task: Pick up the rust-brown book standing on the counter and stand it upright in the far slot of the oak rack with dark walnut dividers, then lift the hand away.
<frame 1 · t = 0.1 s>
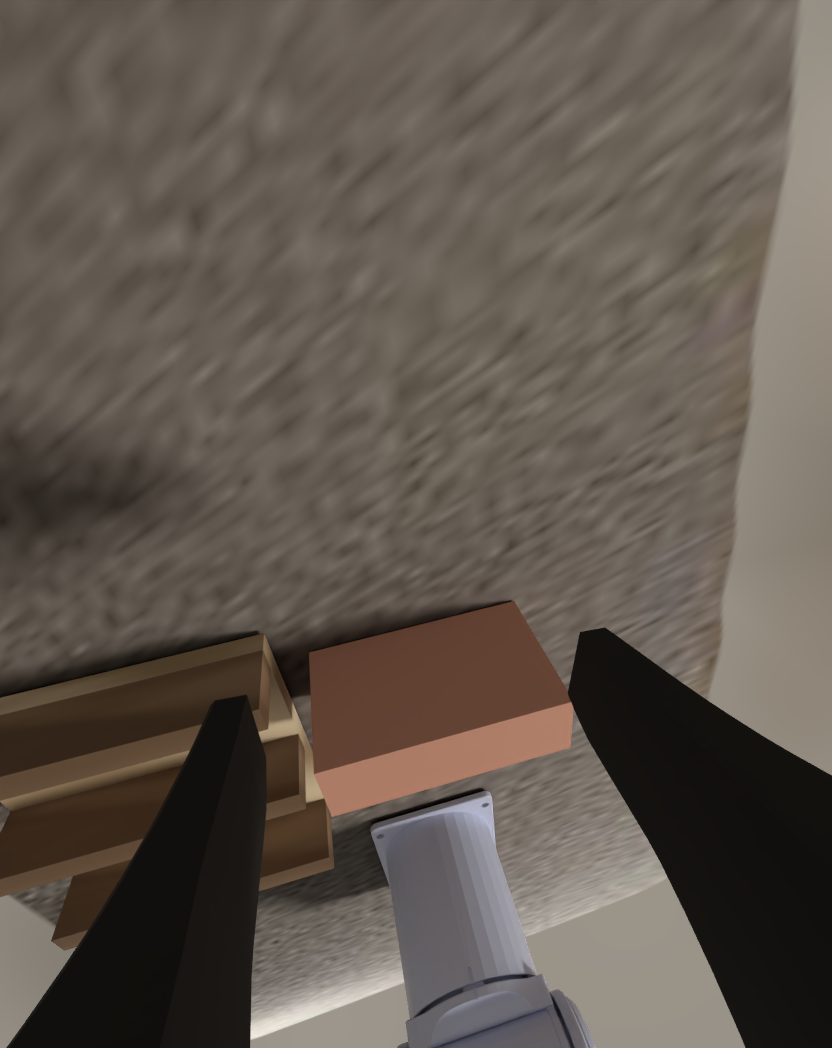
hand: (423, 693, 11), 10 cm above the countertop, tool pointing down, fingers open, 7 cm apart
book: (417, 648, 24), on the countertop
book rack: (169, 759, 24), on the countertop
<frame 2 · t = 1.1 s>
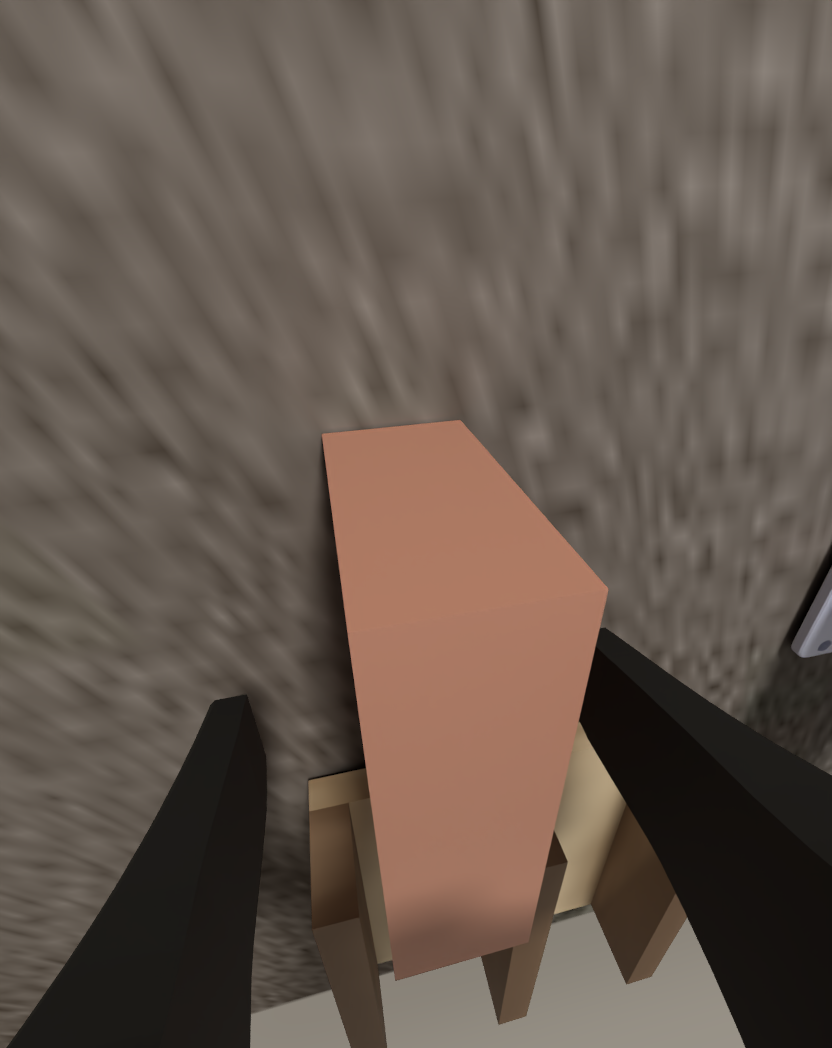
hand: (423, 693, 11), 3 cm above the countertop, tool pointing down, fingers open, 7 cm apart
book: (402, 606, 13), on the countertop
book rack: (487, 837, 20), on the countertop
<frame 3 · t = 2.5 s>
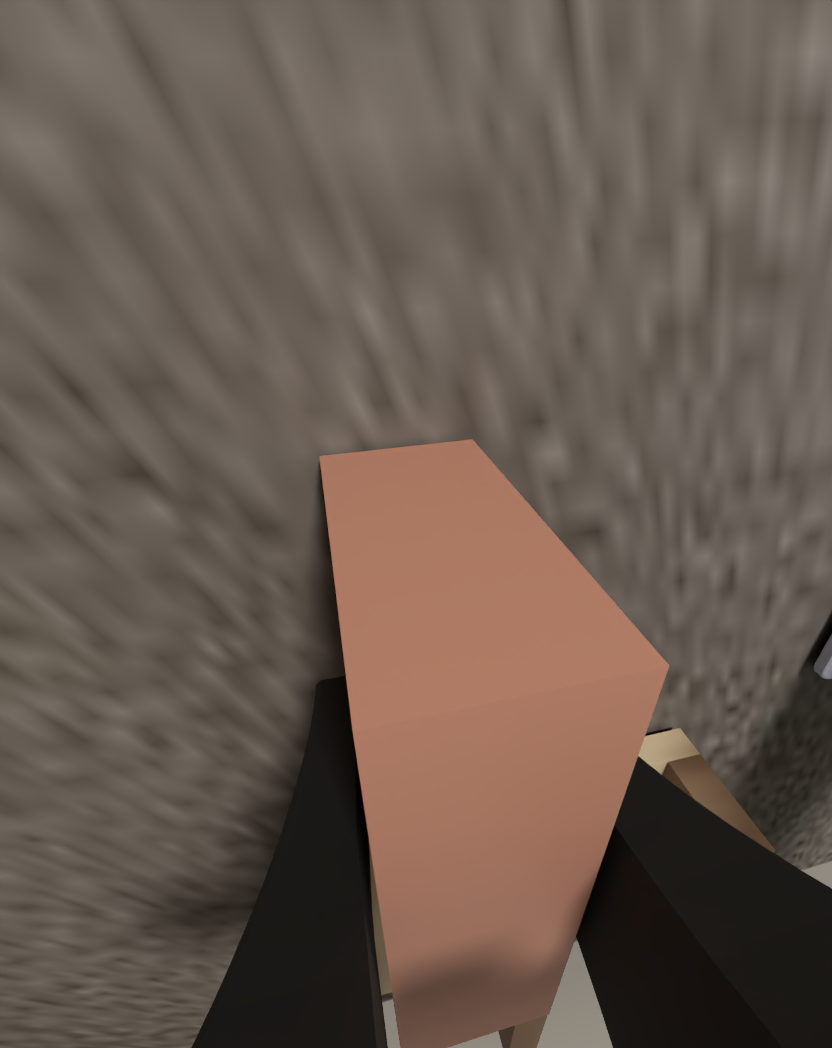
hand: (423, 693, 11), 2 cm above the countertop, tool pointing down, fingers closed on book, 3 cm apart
book: (407, 637, 12), on the countertop, touching gripper
book rack: (494, 865, 19), on the countertop
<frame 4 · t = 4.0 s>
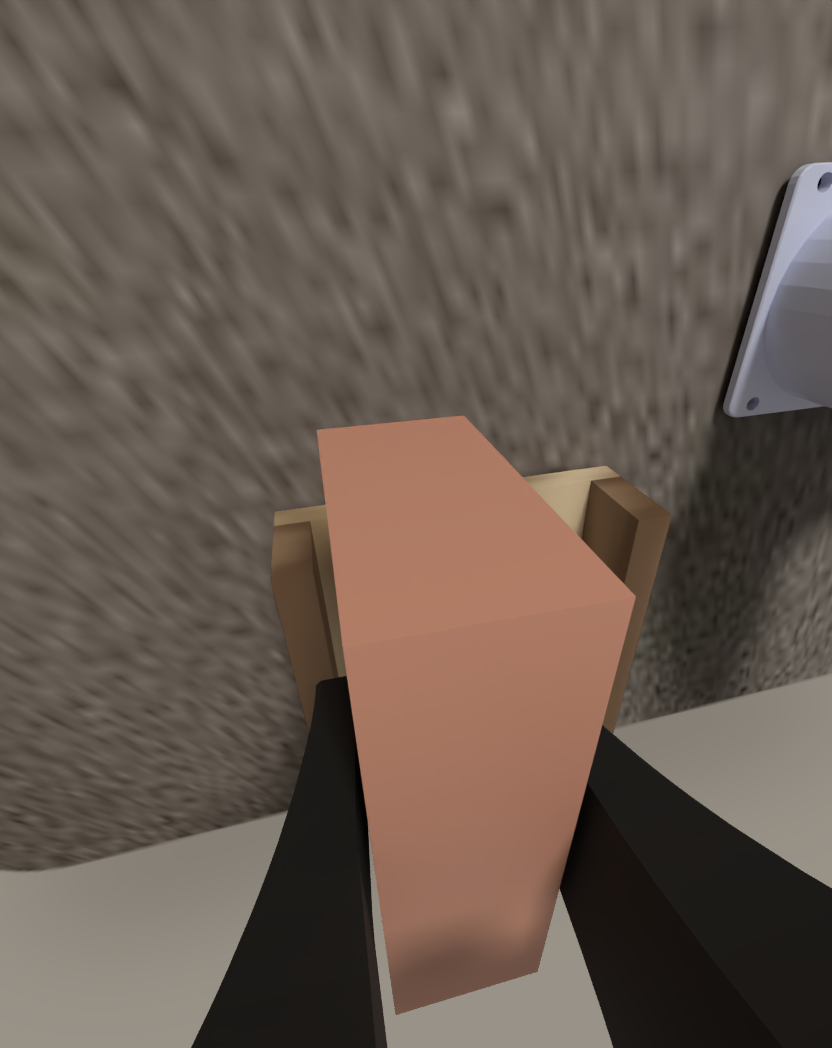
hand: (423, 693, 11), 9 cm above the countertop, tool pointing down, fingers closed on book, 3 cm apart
book: (402, 612, 12), point 6 cm above the countertop, touching gripper
book rack: (450, 617, 22), on the countertop
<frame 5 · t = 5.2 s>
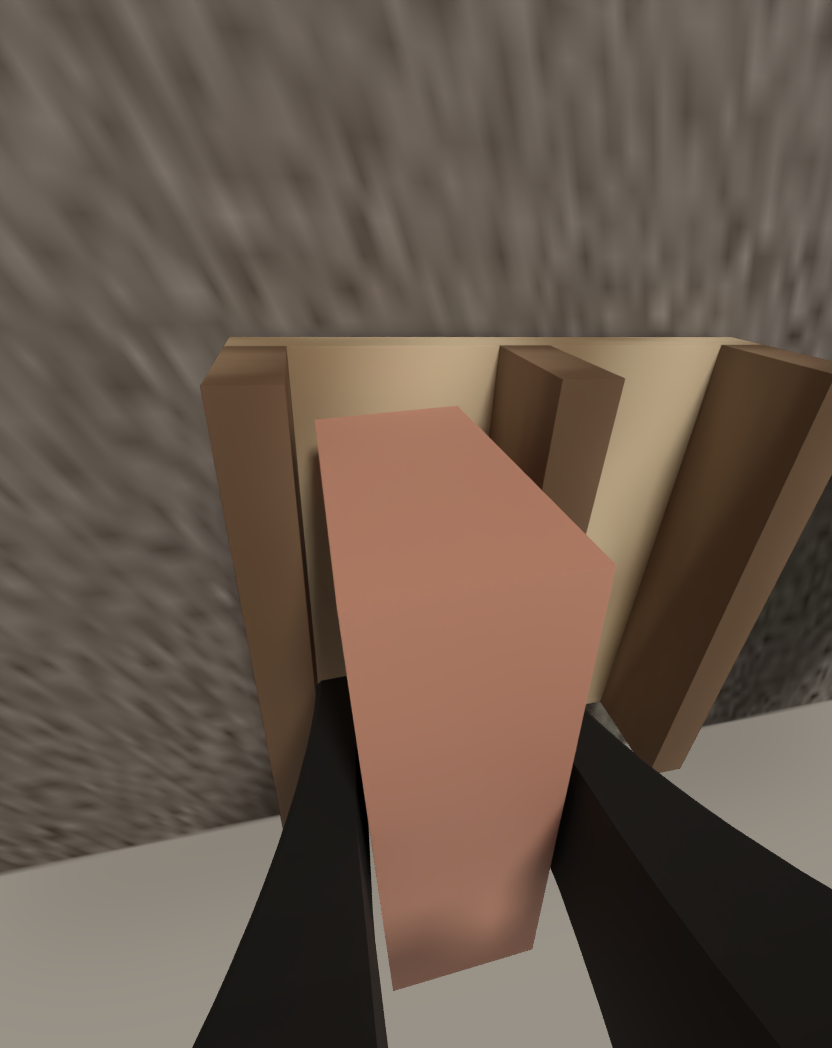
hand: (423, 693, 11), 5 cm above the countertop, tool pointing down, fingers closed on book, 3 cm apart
book: (399, 600, 13), point 2 cm above the countertop, touching gripper
book rack: (480, 558, 15), on the countertop
when the fingers open (5 cm above the countertop, at t = 5.8 s): book stays where it is, resting on book rack.
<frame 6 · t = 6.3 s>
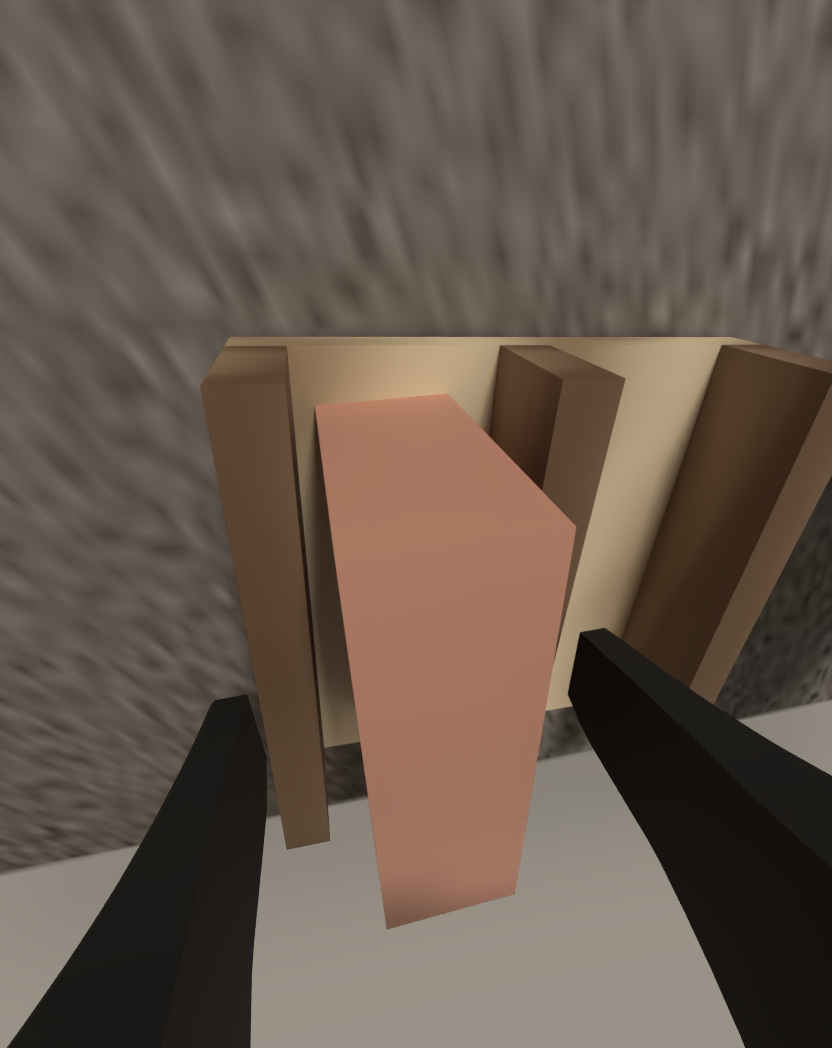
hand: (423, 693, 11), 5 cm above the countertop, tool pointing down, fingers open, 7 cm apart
book: (394, 577, 13), point 1 cm above the countertop, touching book rack
book rack: (480, 558, 15), on the countertop
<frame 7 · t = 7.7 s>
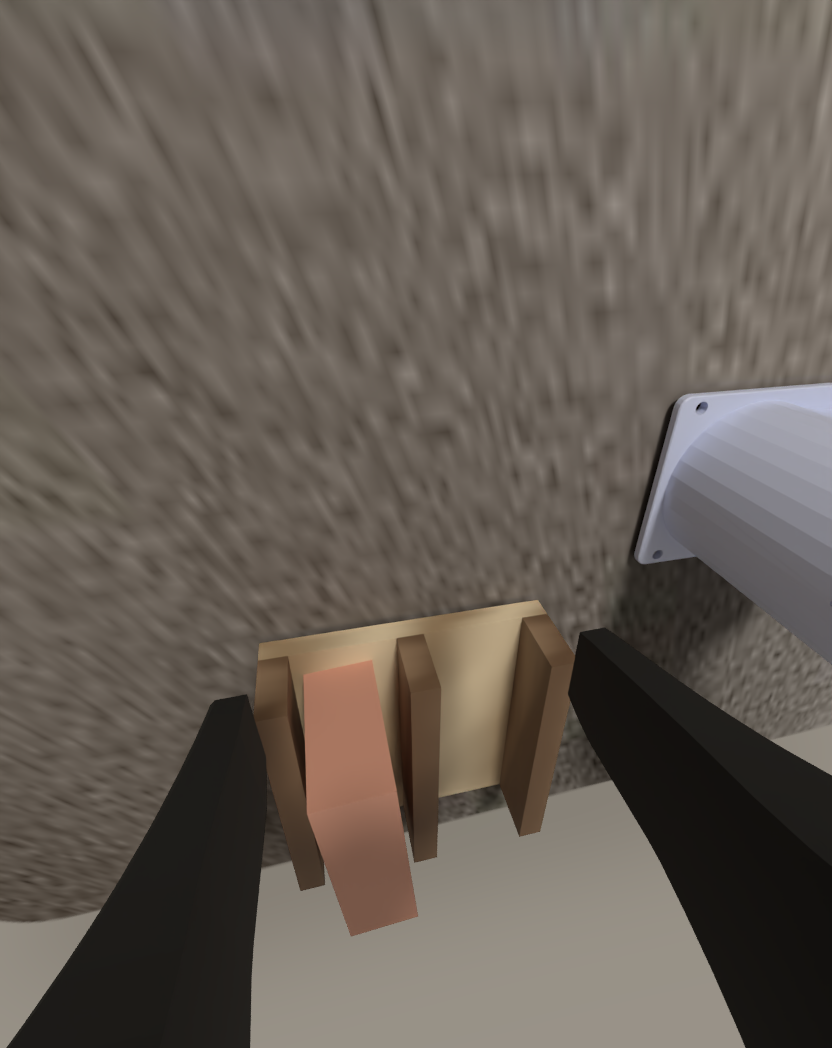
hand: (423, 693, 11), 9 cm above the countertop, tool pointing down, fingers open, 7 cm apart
book: (354, 737, 24), point 1 cm above the countertop, touching book rack
book rack: (408, 714, 25), on the countertop
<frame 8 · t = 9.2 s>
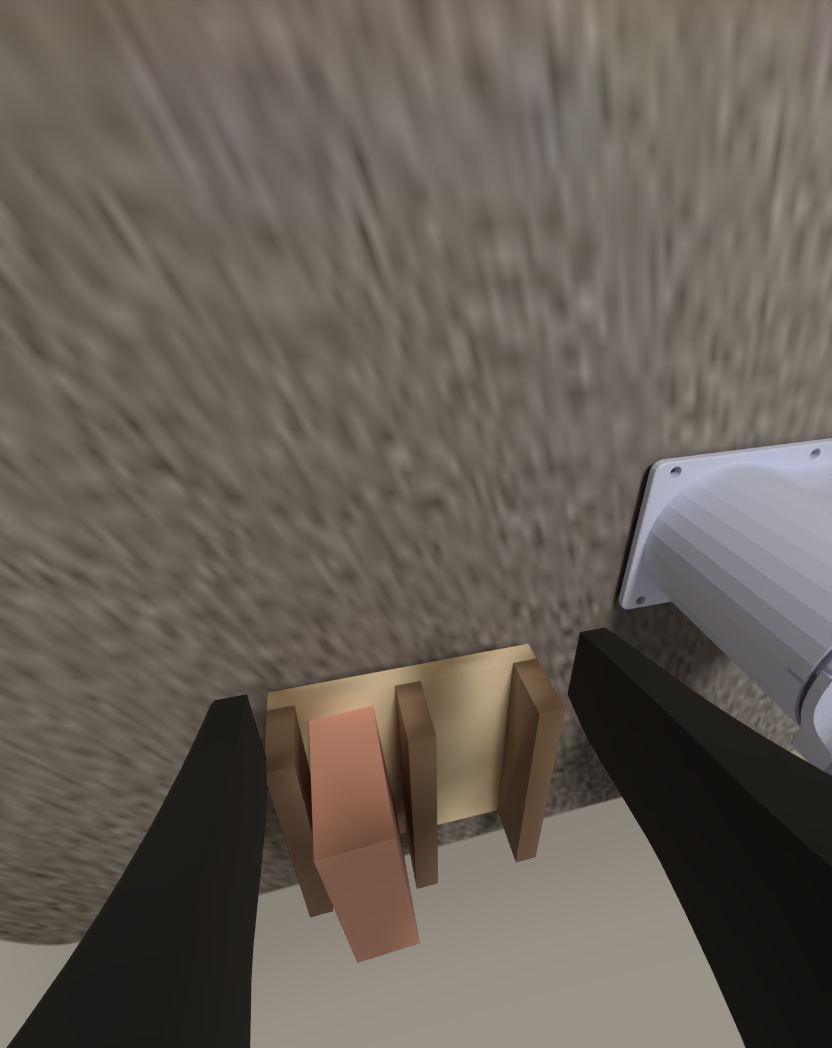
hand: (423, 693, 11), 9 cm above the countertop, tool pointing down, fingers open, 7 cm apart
book: (357, 774, 25), point 1 cm above the countertop, touching book rack
book rack: (408, 749, 27), on the countertop
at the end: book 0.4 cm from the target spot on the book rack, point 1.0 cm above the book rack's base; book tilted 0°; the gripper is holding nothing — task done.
